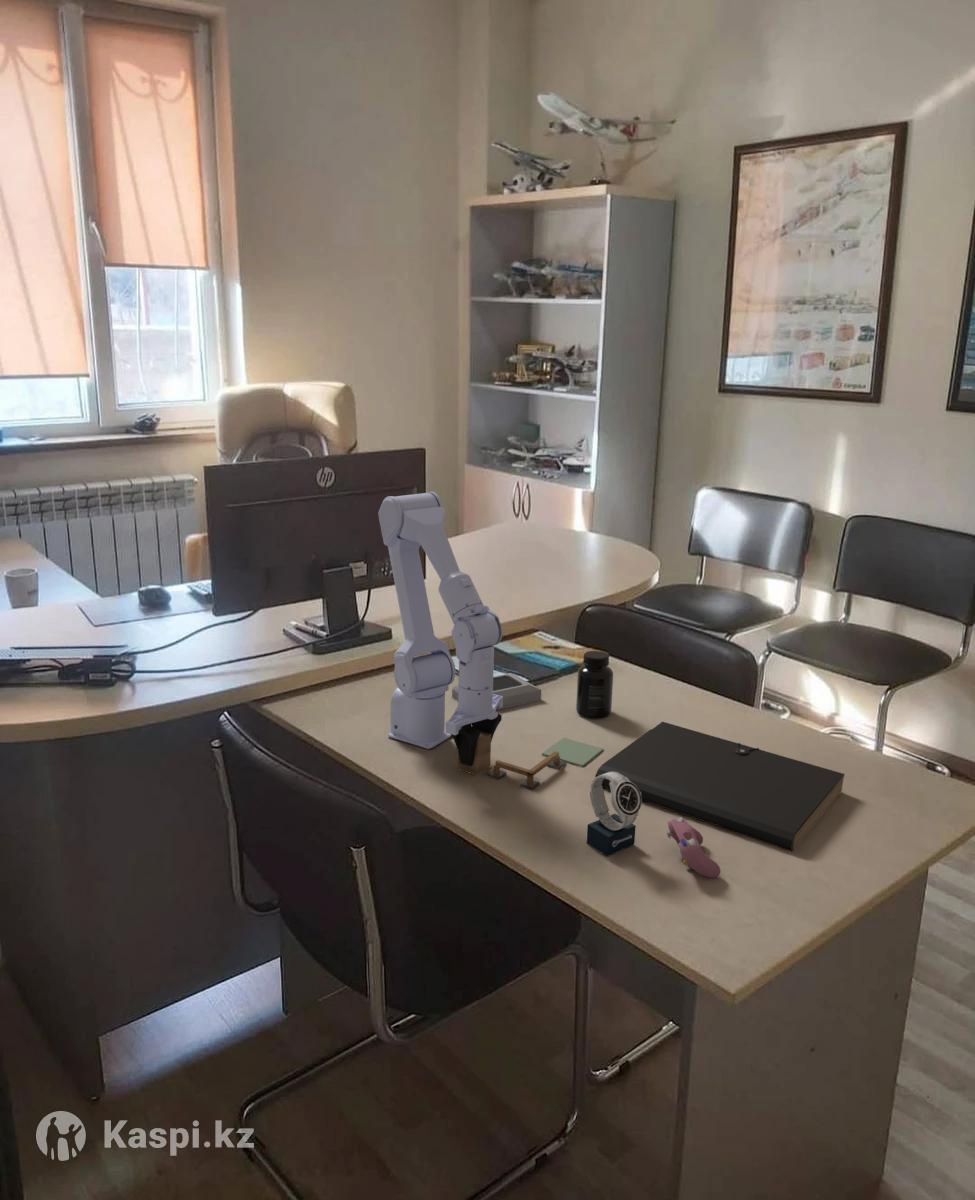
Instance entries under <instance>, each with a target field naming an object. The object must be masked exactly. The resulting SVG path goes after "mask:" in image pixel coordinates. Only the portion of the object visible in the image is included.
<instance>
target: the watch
mask: <svg viewBox="0 0 975 1200" xmlns="http://www.w3.org/2000/svg"><path fill="white" fill-rule="evenodd" d="M604 778H606V779H609V781H611V782H610V783H609V785H610V789H609V790H610V803H611V806H612V808H613V810H614V811H615V812H616V813H617V814H616V813H613V814H610V813H609V811H610V809H609V805H608V804H607V799H606V796H605V790H604V789H603V786H602V781H603V779H604ZM589 795H590V796H589V797H590V801H591V805H592V806H591V807H592V810H593V812H594V814H595V817H597V818H598V819H597V820H595V821H592V822H590V823H588V824H587V832H586V844H587V845H589V846H590V847H592V848H593V849H595V850H597V852H600V853H601V852H602V853H601V854H602V855H604V856H605V857H609V856H611V855H614V854H616V853H618V852H620V851H622V850H625V849H627V848H630V847H632V846H634V845H635V842H636V841H635V838H636V827H637V826H636V824H634V823H635V821H636V819H637V817H638V816H639V813H640V809H641V807H642V801H643V800H641V792H640V791H639V789H638V787H637V786H636V785H635V784H634V783H632V782H630V780H629V779H628V778H627V777H624V776H623V775H621V774H620V773H617V772H608V773H605V774H602V775H600V776H597V777H596V778H595V777H594V778H593V780H592V782H591V784H590V791H589Z"/></svg>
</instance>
